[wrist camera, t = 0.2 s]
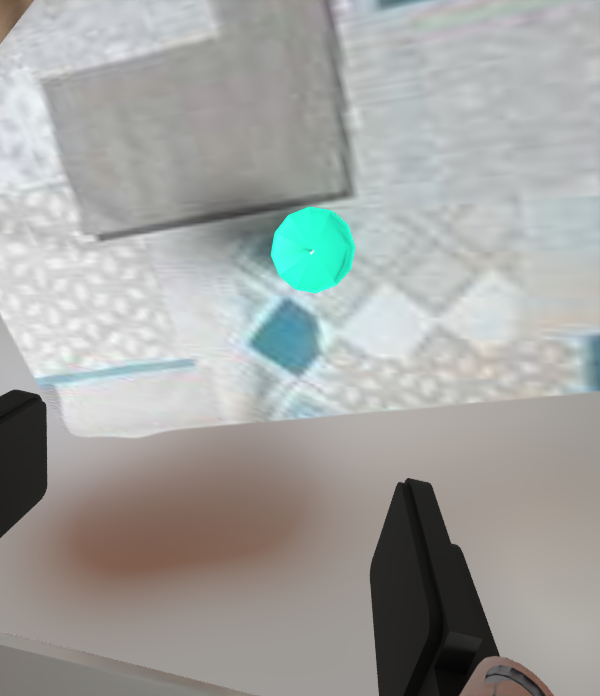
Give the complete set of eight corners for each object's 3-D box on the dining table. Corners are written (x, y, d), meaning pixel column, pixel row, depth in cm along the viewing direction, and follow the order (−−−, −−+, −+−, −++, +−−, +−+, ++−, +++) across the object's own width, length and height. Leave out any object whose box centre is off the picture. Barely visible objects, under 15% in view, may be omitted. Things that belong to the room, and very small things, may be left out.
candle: (292, 276, 40) (272, 300, 28) (285, 212, 38) (261, 210, 27) (353, 271, 39) (358, 293, 28) (350, 205, 37) (353, 200, 26)
